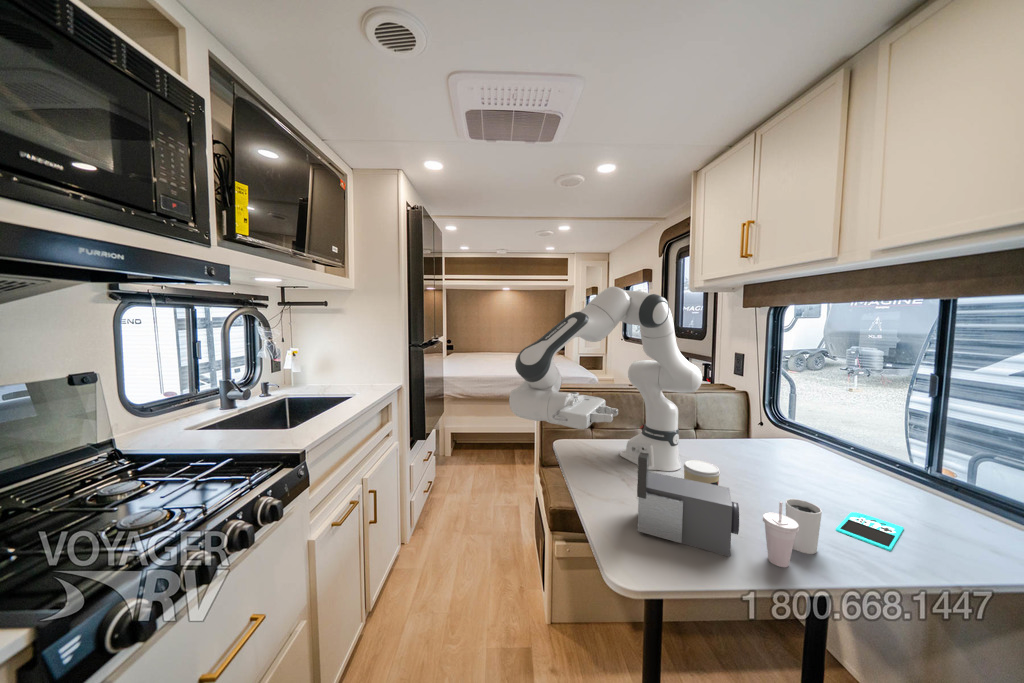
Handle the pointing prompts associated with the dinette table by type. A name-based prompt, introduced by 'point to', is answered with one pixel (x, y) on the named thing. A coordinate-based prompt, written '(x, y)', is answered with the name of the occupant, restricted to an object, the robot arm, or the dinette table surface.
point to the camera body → (701, 511)
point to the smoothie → (779, 537)
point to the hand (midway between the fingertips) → (615, 415)
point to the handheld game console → (870, 530)
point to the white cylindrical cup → (805, 524)
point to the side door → (657, 508)
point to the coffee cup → (701, 472)
